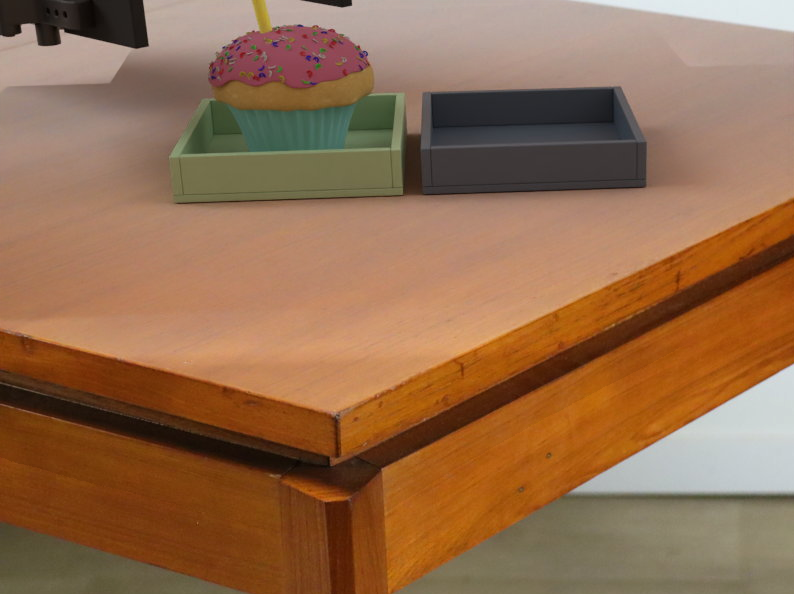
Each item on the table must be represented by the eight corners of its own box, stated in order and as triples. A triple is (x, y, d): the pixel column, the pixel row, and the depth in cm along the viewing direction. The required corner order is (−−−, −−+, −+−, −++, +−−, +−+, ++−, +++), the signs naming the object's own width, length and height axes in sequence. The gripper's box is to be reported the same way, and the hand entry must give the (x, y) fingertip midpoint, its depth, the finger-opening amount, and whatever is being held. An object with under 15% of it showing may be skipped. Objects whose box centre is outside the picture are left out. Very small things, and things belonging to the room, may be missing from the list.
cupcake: (212, 184, 78) (184, -56, 73) (225, 140, 86) (201, -80, 81) (380, 176, 79) (364, -62, 74) (378, 134, 86) (364, -84, 82)
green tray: (174, 203, 76) (168, 157, 75) (207, 139, 87) (202, 98, 86) (403, 195, 77) (400, 149, 76) (407, 133, 88) (405, 92, 87)
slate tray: (422, 194, 77) (420, 148, 76) (424, 132, 88) (422, 91, 87) (646, 187, 78) (646, 141, 77) (620, 126, 89) (620, 85, 88)
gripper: (204, -7, 103) (422, 33, 90) (-157, 57, 86) (49, 117, 73) (192, -123, 100) (415, -98, 87) (-186, -80, 83) (24, -42, 70)
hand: (248, 0), depth 80 cm, fingers open, 13 cm apart
